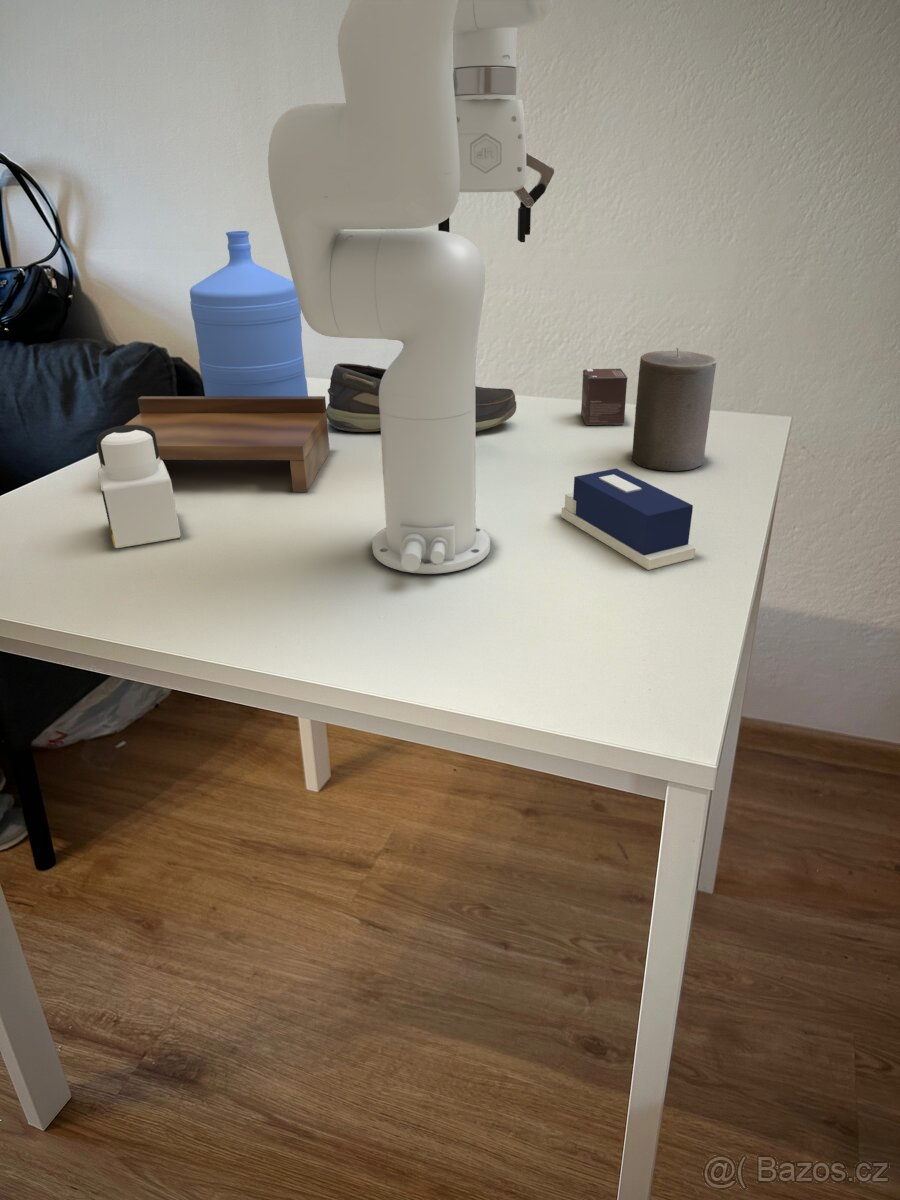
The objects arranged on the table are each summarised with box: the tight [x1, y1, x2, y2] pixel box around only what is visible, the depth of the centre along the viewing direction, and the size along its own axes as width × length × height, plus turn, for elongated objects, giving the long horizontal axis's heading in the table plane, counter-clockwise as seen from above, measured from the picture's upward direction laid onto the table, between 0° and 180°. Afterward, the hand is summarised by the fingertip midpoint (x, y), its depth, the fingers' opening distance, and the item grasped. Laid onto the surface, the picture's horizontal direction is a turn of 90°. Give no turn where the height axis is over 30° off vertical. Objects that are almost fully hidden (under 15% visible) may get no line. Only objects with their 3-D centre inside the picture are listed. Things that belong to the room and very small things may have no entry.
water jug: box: [189, 230, 309, 396], centre depth 127 cm, size 16×16×28 cm
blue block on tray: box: [560, 467, 696, 571], centre depth 93 cm, size 16×6×6 cm, turn 27°
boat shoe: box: [326, 362, 517, 433], centre depth 130 cm, size 11×29×11 cm, turn 89°
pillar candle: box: [630, 347, 718, 472], centre depth 114 cm, size 10×10×15 cm
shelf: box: [96, 395, 331, 493], centre depth 114 cm, size 16×26×8 cm, turn 87°
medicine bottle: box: [95, 424, 181, 549], centre depth 95 cm, size 7×7×12 cm
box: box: [580, 368, 628, 426], centre depth 133 cm, size 6×6×7 cm
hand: (483, 241), depth 111 cm, fingers open, 9 cm apart
